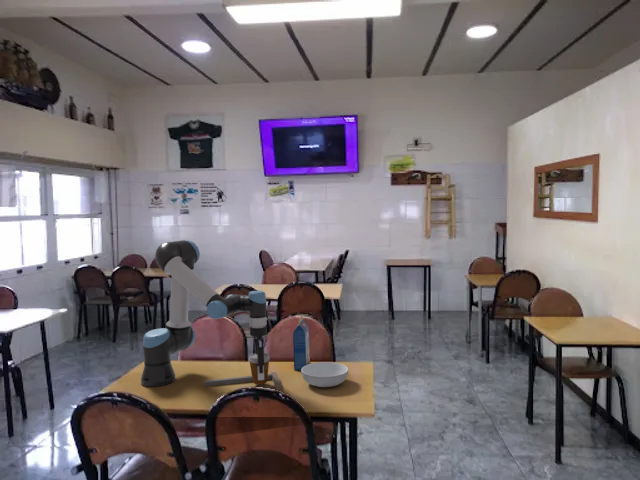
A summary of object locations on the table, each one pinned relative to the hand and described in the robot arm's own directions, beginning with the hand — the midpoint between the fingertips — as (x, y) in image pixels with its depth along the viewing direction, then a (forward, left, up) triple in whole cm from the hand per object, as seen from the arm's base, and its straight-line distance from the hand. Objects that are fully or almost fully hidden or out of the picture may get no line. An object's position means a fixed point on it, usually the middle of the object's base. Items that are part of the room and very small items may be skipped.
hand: (259, 376), depth 216 cm
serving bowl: (+28, -7, -4) cm, 29 cm away
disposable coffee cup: (0, 0, -3) cm, 3 cm away
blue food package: (+23, +20, -4) cm, 31 cm away
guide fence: (-8, 0, -4) cm, 9 cm away
